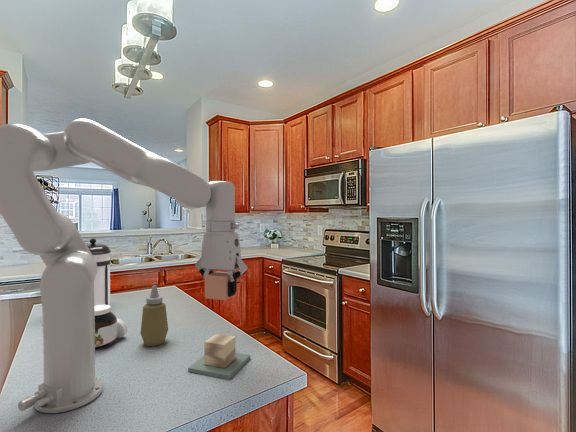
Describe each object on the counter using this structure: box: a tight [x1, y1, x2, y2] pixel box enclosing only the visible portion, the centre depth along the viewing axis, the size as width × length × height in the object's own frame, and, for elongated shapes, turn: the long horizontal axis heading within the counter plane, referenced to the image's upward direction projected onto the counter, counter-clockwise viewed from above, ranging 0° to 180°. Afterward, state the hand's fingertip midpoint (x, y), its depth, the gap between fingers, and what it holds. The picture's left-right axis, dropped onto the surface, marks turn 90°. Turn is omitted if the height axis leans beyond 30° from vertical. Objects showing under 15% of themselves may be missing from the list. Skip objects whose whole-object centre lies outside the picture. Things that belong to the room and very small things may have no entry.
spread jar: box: [94, 305, 128, 351], centre depth 101 cm, size 12×11×12 cm
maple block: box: [203, 333, 236, 368], centre depth 87 cm, size 6×6×6 cm
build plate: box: [187, 352, 251, 380], centre depth 87 cm, size 12×12×1 cm
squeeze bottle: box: [140, 284, 169, 347], centre depth 101 cm, size 8×8×18 cm
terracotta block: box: [204, 270, 237, 301], centre depth 87 cm, size 6×6×6 cm
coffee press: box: [86, 238, 116, 306], centre depth 131 cm, size 17×16×30 cm
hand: (220, 293), depth 87 cm, fingers closed on terracotta block, 6 cm apart
